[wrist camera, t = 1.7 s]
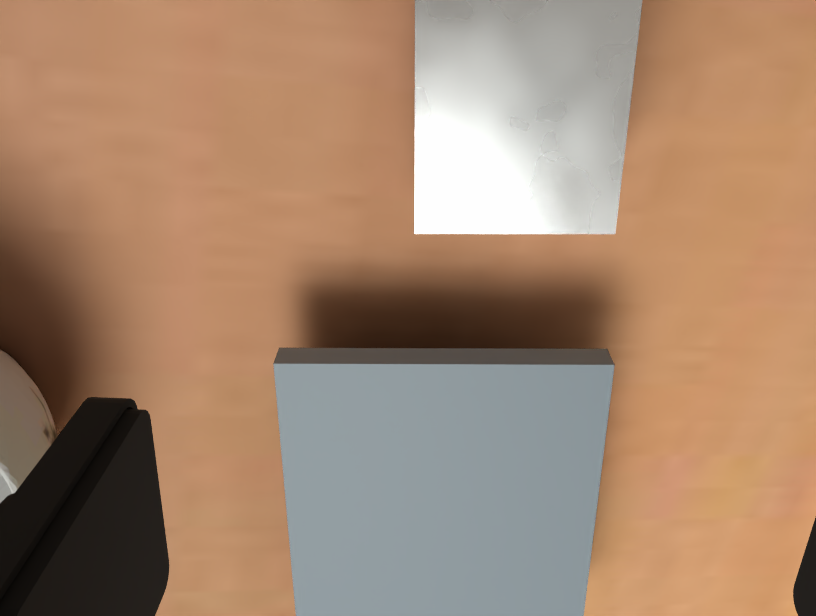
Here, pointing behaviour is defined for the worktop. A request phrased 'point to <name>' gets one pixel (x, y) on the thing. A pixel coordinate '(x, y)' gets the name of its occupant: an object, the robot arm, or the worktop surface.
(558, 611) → the stand
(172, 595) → the worktop surface
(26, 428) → the teacup
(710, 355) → the worktop surface
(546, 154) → the block
